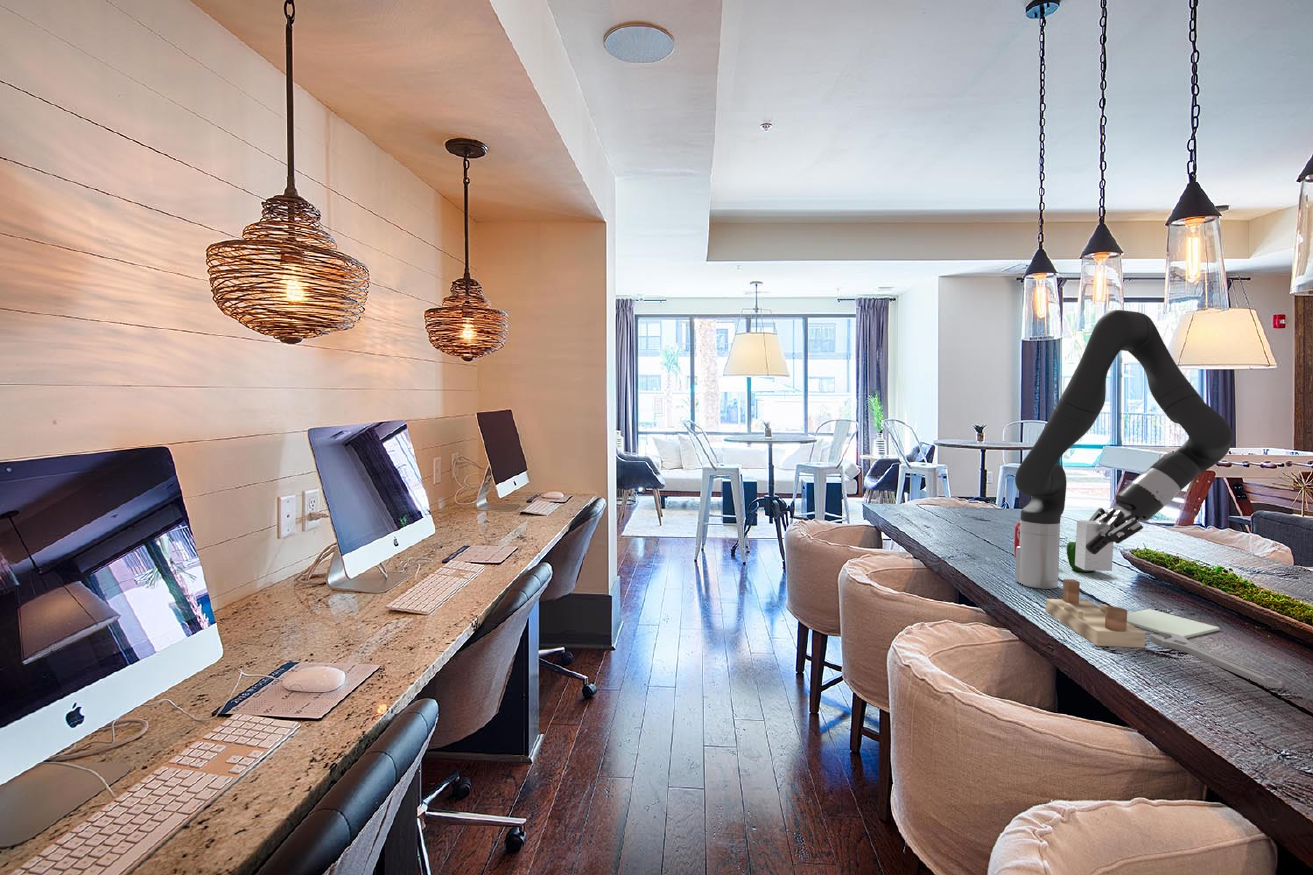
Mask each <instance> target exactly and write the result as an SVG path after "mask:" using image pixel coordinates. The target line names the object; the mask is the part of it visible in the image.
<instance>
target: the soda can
mask: <svg viewBox="0 0 1313 875" xmlns="http://www.w3.org/2000/svg"><path fill="white" fill-rule="evenodd" d="M1016 522H1017V523H1016V525H1015V527H1014V541H1013V556H1014V557H1013V558H1015V559H1016V547H1018V546H1020V522H1021V519H1020V520H1017V521H1016Z"/></svg>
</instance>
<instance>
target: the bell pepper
mask: <svg viewBox="0 0 1313 875" xmlns="http://www.w3.org/2000/svg"><path fill="white" fill-rule="evenodd" d="M1075 542H1076V541H1068V543H1067V544H1066V555H1067V560H1068V564H1069V567H1071V569H1072V570H1075V571H1077V572H1083V573H1088V572H1096V570H1083V569H1081V568H1079V567H1077V566H1075V552H1076V543H1075Z"/></svg>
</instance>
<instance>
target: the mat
mask: <svg viewBox="0 0 1313 875" xmlns="http://www.w3.org/2000/svg"><path fill="white" fill-rule="evenodd" d="M1127 623H1129V624H1130V625H1132V626H1134V627H1136V628H1138V629H1139V628H1140V629H1143V630H1146V631H1150V632H1153V633H1157V634H1158V633H1159V631H1163V632H1169V633H1174V634H1177V635H1180V636H1183V637H1185V638H1186V639H1190V638H1193V637H1197V636H1202V635H1205V634H1211V633H1214V632H1217V631H1220V630H1221V629H1220V627H1219V626H1215V625H1211V624H1208V623H1204V622H1200V621H1197V620H1192V619H1190V618H1185V617H1181V616H1179V615H1174V614H1170V613H1166V612H1162V611H1158V610H1154V609H1151V608H1148V609H1147V608H1146V609H1143V610H1138V611H1132V612H1127Z"/></svg>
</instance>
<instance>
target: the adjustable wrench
mask: <svg viewBox="0 0 1313 875" xmlns="http://www.w3.org/2000/svg"><path fill="white" fill-rule="evenodd" d="M1157 634H1158V635H1157ZM1157 634H1154V633H1150V634H1149V641H1150V642H1152V643H1153V644H1155V645H1157V646H1160V648H1167V649H1171V650H1175V651H1176V650H1177V651H1179V652H1184V653H1186V654H1189V655H1191V656H1193V657H1196V658H1198V659H1201V660H1203V661H1204V662H1207V663H1210V664H1213V665H1215V666H1216V667H1220V668H1222V669H1224V670H1226V671H1229V672H1231V673H1233V674H1235V675H1238V676H1240V677H1242V678H1245V679H1247V680H1249V679H1250V681H1252V682H1255V683H1256V682H1257V684H1258V683H1259V684H1258V685H1261V684H1262V685H1261V686H1263V685H1264V687H1265V686H1267V687H1266V688H1268V687H1271V688H1270V689H1272V688H1282V689H1283V681H1281V680H1280V679H1277V678H1275V677H1272V676H1269V675H1268V674H1265V673H1263V672H1261V671H1258V670H1256V669H1252V668H1250V667H1248V666H1245V665H1244V664H1240V663H1238V662H1235V661H1233V660H1230V659H1228V658H1226V657H1223V656H1221V655H1218V654H1216V653H1213V652H1211V651H1208V650H1206V649H1205V648H1204V649H1203V648H1201V647H1199V646H1197V645H1195V644H1193V643H1192V642H1191V641H1189V639H1188V638H1185V637H1183V636H1180V635H1177V634H1174V633H1169V632H1163V631H1159V633H1157Z"/></svg>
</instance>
